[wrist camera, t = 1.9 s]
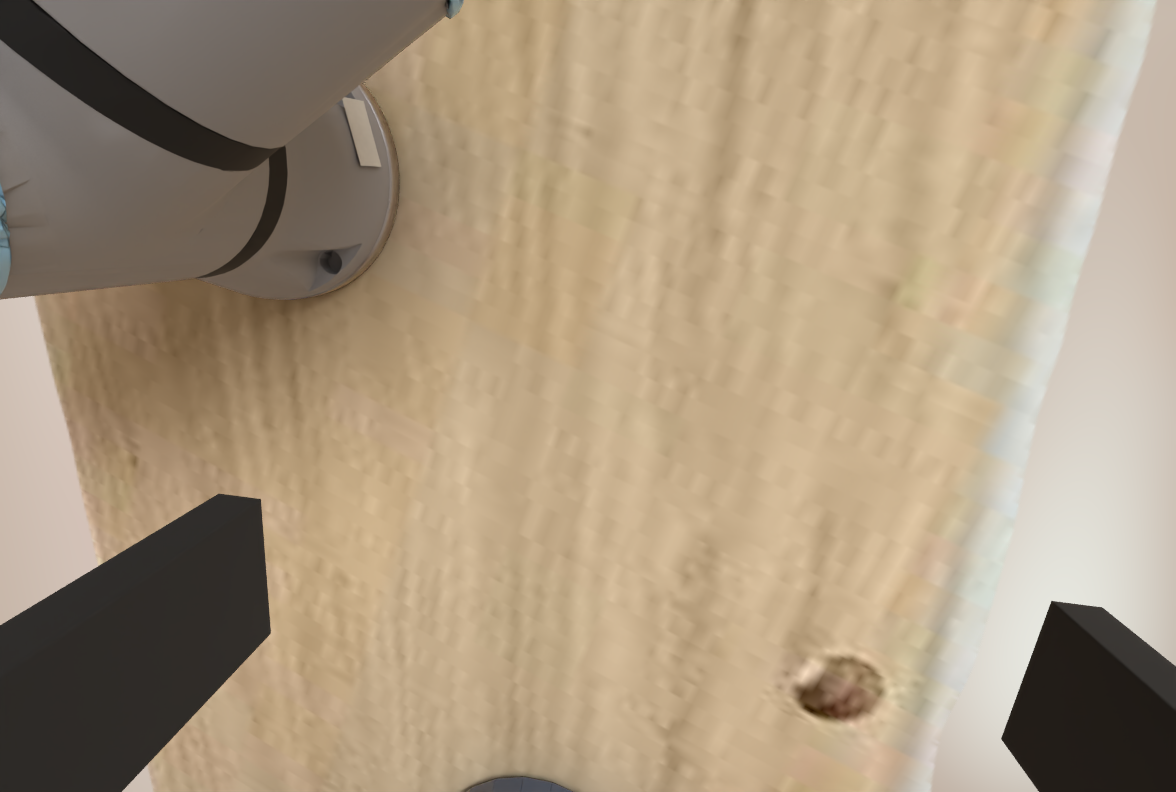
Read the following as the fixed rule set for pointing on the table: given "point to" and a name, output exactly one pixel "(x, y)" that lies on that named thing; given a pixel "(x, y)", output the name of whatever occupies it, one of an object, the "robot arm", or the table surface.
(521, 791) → the bowl
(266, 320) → the table surface
